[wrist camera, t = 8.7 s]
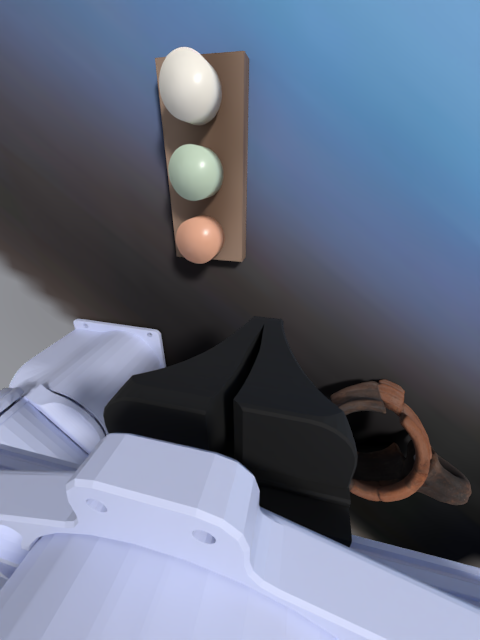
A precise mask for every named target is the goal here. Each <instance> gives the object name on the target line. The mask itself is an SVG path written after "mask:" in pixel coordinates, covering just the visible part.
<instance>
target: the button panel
mask: <svg viewBox="0 0 480 640" xmlns="http://www.w3.org/2000/svg"><path fill="white" fill-rule="evenodd" d="M200 55H201V56H202V57H203V58H204V59H205V60H206V61H207V62H208V63H209V64H210V65H211V66H212V67H213V68H214V70H215V71H216V73H217V75H218V77H219V79H220V83H221V89H222V98H221V104H220V107H219V110H218V112H217V114H216V115H215V117H214V118H213V119H212V120H211V121H210V122H208V123H206V124H204V125H193V124H190V123H187V122H185V121H182V120H179V119H177V118H176V117H174V116H173V115H172V114H171V113H170V112H169V111H168V110H167V108H166V107H165V105H164V103H163V100H162V98H161V94H160V89H159V75H160V70H161V67H162V64H163V62H164V60H165V58H166V57H161V58H155V62H156V71H157V80H158V89H159V98H160V107H161V116H162V126H163V135H164V144H165V153H166V162H167V171H168V168H169V162H170V158H171V156H172V154H173V153H174V152H175V150H176V149H177V148H179V147H180V146H183V145H186V144H193V145H198V146H203V147H207V148H209V149H211V150H212V151H213V152H214V153H215V154H216V155H217V156H218V157H219V159H220V161H221V164H222V167H223V181H222V185H221V187H220V189H219V190H218V192H217V193H216V194H214V195H213V196H211V197H209V198H205V199H202V200H197V201H190V200H187V199H185V198H183V197H181V196H180V195H179V194H178V193H177V192H176V191H175V189H174V188H173V186H172V184H171V182H170V178H169V171H168V180H169V189H170V199H171V208H172V217H173V226H174V235H175V244H176V232H177V229H178V228H179V226H180V225H181V224H182V223H183V222H184V221H186V220H188V219H191V218H193V217H196V216H199V215H207V216H210V217H212V218H214V219H215V220H217V221H218V222H219V224H220V225H221V227H222V229H223V231H224V236H225V241H224V245H223V248H222V249H221V251H220V252H219V253H218V254H217V255H215V256H214V257H213V258H212V259H213V260H226V261H238V262H242V261H243V260H244V258H245V254H246V200H247V146H248V93H249V58H248V56H247V55H246V53H245V51H236V52H224V53H211V54H200ZM176 253H177V257H183V255H182V254H181V253H180V251H179V250H178V247H177V244H176Z"/></svg>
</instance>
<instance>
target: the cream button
mask: <svg viewBox="0 0 480 640" xmlns="http://www.w3.org/2000/svg"><path fill="white" fill-rule="evenodd" d="M159 89H160V94H161V98H162V100H163V103H164V105H165V107H166V108H167V110H168V111H169V112H170V113H171V114H172V115H173V116H174V117H176V118H177V119H179V120H182V121H185V122H187V123H190V124H193V125H204V124H206V123H208V122H210V121H211V120H212V119H213V118H214V117H215V115H216V114H217V112H218V110H219V107H220V104H221V98H222V89H221V83H220V79H219V77H218V75H217V73H216V71H215V70H214V68H213V67H212V66H211V65H210V64H209V63H208V62H207V61H206V60H205V59H204V58H203V57H202V56H201V55H200V54H199V53H198V52H197V51H195V50H194V49H191V48H188V47H180V48H177V49H175V50H173V51H172V52H171V53H169V54H168V56H167V57H166V58H165V60H164V62H163V64H162V67H161V70H160V75H159Z"/></svg>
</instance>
